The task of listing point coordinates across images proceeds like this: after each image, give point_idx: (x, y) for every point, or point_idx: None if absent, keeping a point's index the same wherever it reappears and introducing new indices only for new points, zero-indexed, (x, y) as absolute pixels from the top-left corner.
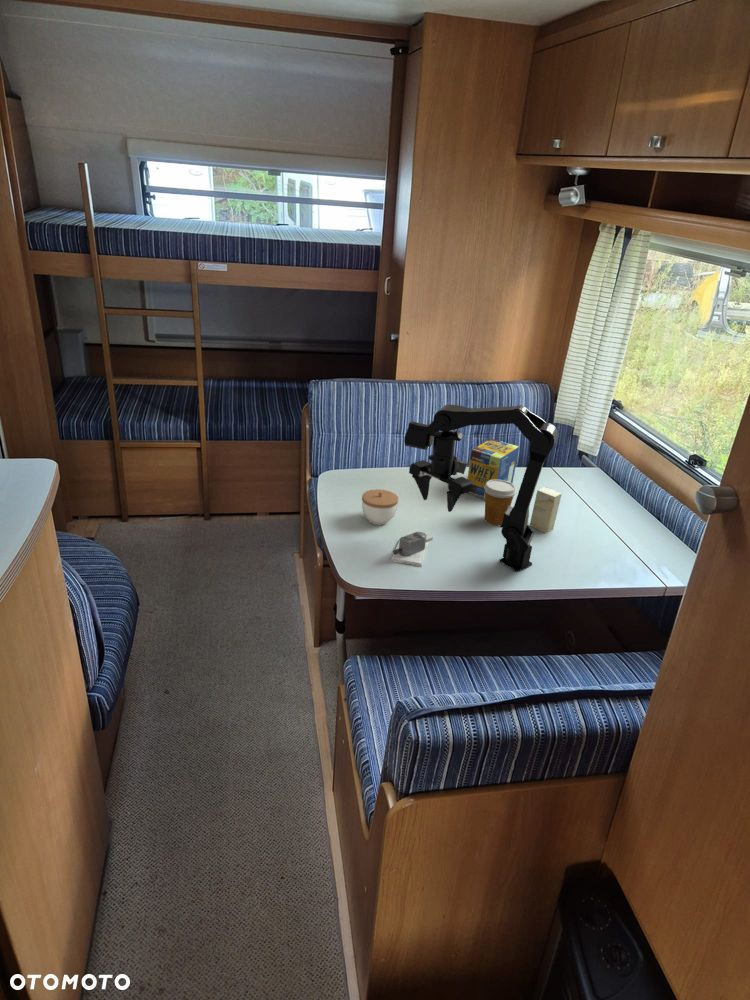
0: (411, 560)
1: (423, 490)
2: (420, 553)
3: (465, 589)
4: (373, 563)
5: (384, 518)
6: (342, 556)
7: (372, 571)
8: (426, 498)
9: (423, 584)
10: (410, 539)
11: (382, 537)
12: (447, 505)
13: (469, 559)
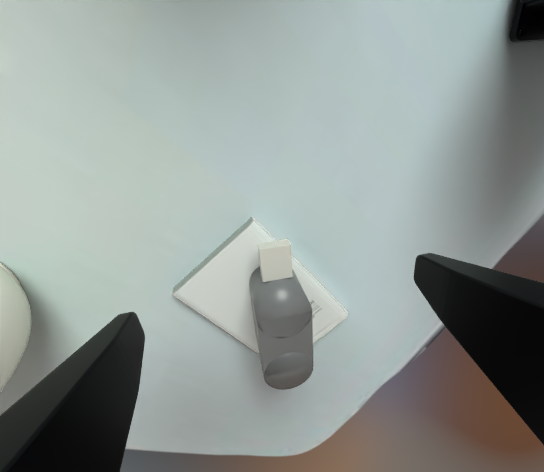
0: (320, 331)
1: (111, 461)
2: (305, 292)
3: (490, 267)
4: (263, 399)
5: (29, 330)
6: (197, 444)
7: (293, 410)
8: (134, 324)
9: (405, 340)
10: (293, 358)
11: None
12: (462, 344)
13: (415, 145)
